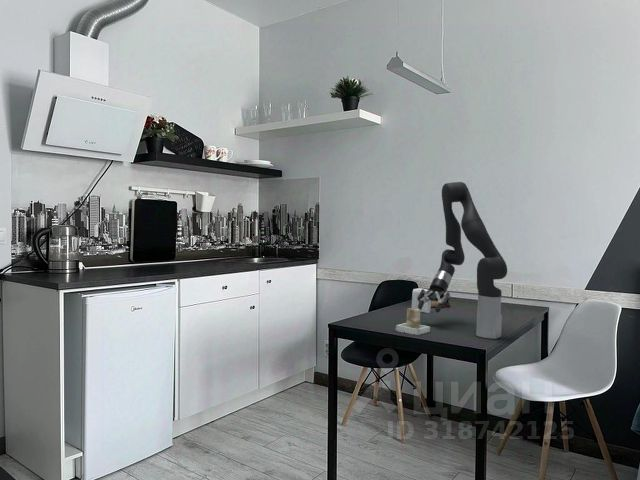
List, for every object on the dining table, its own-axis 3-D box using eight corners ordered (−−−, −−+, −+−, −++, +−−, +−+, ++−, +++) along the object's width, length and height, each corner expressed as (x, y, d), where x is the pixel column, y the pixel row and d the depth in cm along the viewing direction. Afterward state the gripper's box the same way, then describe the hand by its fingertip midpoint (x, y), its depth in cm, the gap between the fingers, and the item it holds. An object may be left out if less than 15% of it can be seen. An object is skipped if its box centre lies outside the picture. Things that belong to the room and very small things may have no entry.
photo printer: (431, 312, 264) (432, 289, 263) (428, 313, 260) (429, 289, 260) (413, 309, 269) (414, 287, 269) (410, 310, 266) (411, 287, 265)
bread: (415, 308, 283) (415, 290, 283) (426, 303, 300) (426, 286, 300) (444, 309, 275) (443, 291, 275) (454, 305, 292) (453, 288, 292)
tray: (429, 332, 215) (430, 326, 215) (418, 335, 207) (418, 329, 207) (407, 327, 222) (407, 322, 222) (395, 330, 214) (395, 325, 214)
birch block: (419, 330, 215) (420, 309, 214) (415, 331, 212) (416, 310, 212) (410, 328, 217) (411, 308, 217) (406, 329, 215) (407, 308, 214)
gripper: (424, 276, 234) (411, 302, 226) (452, 278, 225) (440, 306, 217) (429, 286, 239) (416, 313, 230) (457, 289, 229) (445, 317, 221)
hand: (427, 310), depth 223 cm, fingers open, 8 cm apart
